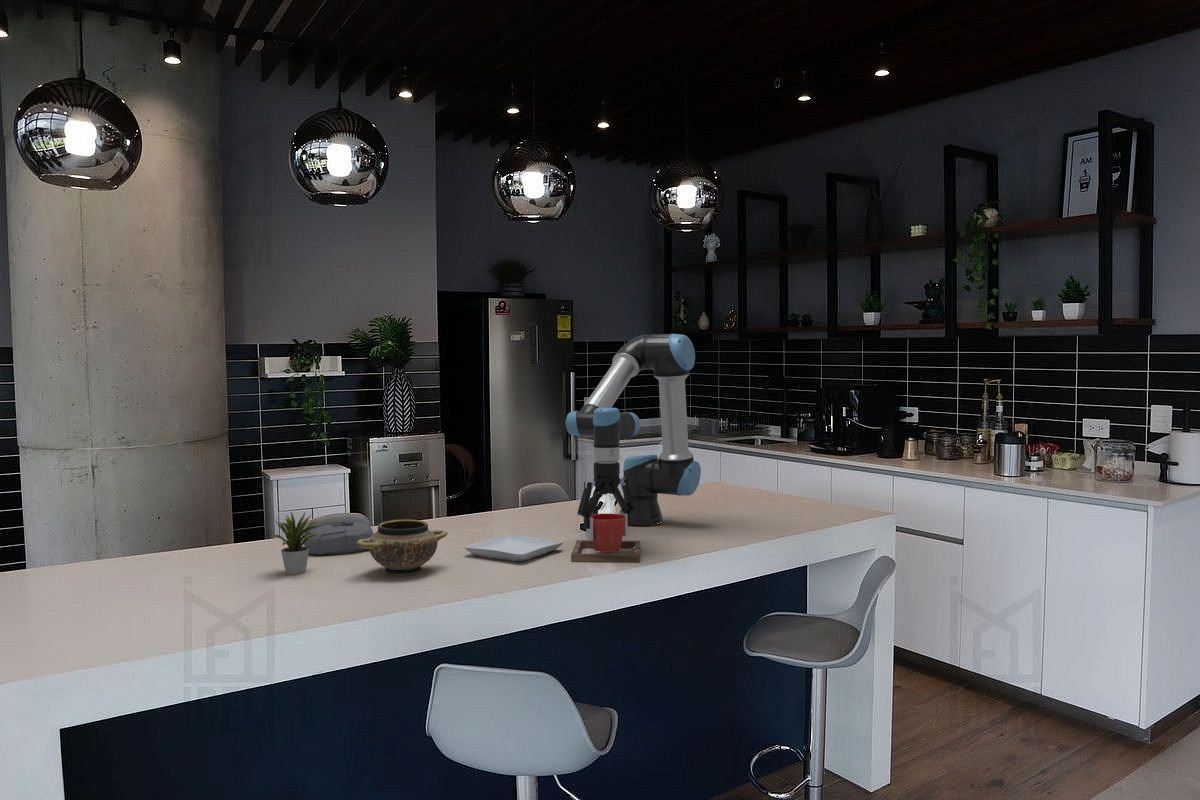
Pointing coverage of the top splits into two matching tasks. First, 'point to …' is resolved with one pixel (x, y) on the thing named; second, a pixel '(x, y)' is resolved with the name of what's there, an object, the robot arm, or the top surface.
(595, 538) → the flower pot
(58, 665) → the top surface
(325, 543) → the soft grey pack
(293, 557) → the house plant
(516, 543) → the salad plate
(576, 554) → the holder frame
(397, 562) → the ceramic bowl
